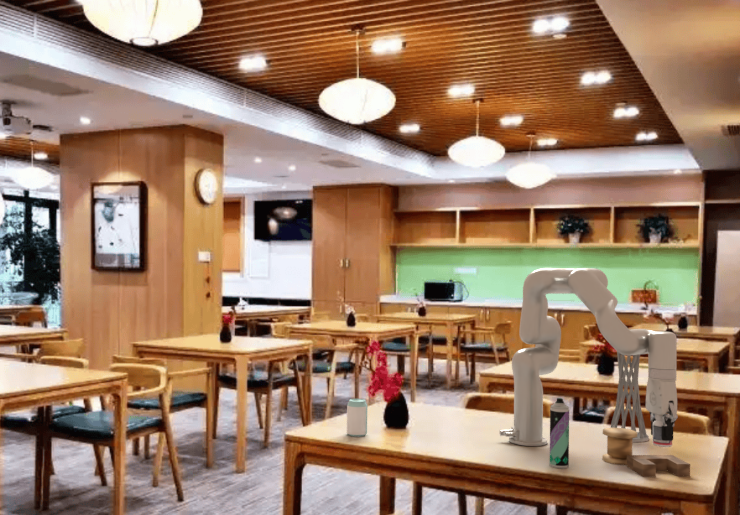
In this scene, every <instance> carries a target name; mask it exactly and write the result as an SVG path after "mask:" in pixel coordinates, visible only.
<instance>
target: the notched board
mask: <svg viewBox="0 0 740 515" xmlns="http://www.w3.org/2000/svg"><path fill="white" fill-rule="evenodd" d="M626 468H628V469H630V470H631V471H632V472H634V473H636V474H637V475H639V476H640V477H643V478H651V477H652V478H653V477H654V478H656V475H657V473H656V472H659V471H660V472H661V471H664V472H665V471H667V472H668V473H670V474H672V475H673V476H676V477H684V478H685V477H691V463H689V462H687V461H685V460H683V459H681V458H679V457H677V456H674V455H673V454H638V455H637V454H632V455H627V465H626Z"/></svg>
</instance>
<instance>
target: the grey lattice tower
mask: <svg viewBox="0 0 740 515" xmlns="http://www.w3.org/2000/svg"><path fill="white" fill-rule="evenodd" d="M616 354H617V367H618V383H617V392H616V403H615V408H614V411H613V412H614V413H613V416H612V420H611V424H610V428H618V423H619V419H620V417H621V419H622V420H621V427H620V428H624V429H626V421H627V417H628V413H629V418H630V421H631V422H630V423H631V425H630V426H631V427H630V430H634V431H636V432H637V437H636V438H632V443H644V442H648V441H649V440H650V437H649V435H648V434H647V430H646V426H645V420H644V416H643V415H644V414H643V411H642V407H641V398H640V388H639V387H640V384H639V370H640V369H639V368H640V358H641V354H639V355H629V356H627V355H623V354H621V353H619V352H618V351H617V350H616ZM625 356H627V358H626V357H625ZM631 356H632V359H631ZM628 367H629V369H628ZM628 389H629V391H628ZM625 399H626V405H625ZM631 399H632V404H631ZM620 415H621V416H620ZM636 418H637V421H638V422H637V423H638V431H637V428H636V423H635V420H636Z"/></svg>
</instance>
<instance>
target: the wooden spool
mask: <svg viewBox="0 0 740 515" xmlns="http://www.w3.org/2000/svg"><path fill="white" fill-rule="evenodd" d="M637 432H638V431H637V430H636V431H634V430H631V428H630V429H629V428H625V429H624V428H621V427H617V428H611V427H604V428H603V429H602V435H604V436H606V437H607V438H606V439H607V440H606V441H607V444H606V445H607V447H606V448H607V449H606V451H607V452H606V453H604V454H602V456H601V457H602V461H603V462H605V463H608V464H612V465H617V466H627V455H633V442H632V438H636V437H637Z"/></svg>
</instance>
